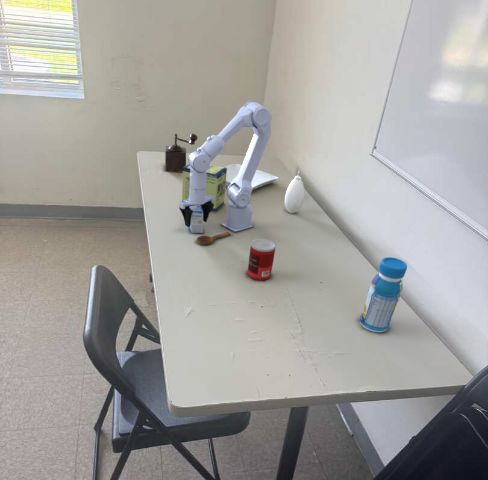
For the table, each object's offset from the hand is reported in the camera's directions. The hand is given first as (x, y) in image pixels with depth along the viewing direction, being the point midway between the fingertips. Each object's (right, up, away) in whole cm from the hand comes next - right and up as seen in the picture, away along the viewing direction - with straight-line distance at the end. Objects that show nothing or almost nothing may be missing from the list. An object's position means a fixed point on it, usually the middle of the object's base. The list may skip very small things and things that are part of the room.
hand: (196, 223), depth 165 cm
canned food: (+23, -22, -22) cm, 38 cm away
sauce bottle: (+39, +11, +26) cm, 48 cm away
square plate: (+16, +32, +51) cm, 62 cm away
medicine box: (0, -2, +2) cm, 3 cm away
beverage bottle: (+55, -38, -38) cm, 77 cm away
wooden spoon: (+7, -7, -4) cm, 10 cm away
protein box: (+1, +13, +23) cm, 26 cm away
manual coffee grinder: (-14, +40, +58) cm, 72 cm away
